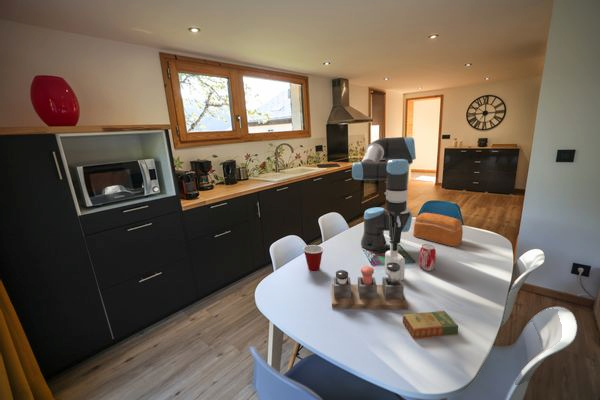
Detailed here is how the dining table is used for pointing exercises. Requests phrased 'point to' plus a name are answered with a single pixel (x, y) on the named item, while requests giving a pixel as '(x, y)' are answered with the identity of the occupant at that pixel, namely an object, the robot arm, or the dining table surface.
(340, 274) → the grey plug
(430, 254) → the soda can
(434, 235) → the bread
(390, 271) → the grey plug
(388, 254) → the photo printer
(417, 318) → the carton
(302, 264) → the dining table surface
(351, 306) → the socket board
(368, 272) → the red plug
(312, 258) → the plastic cup
